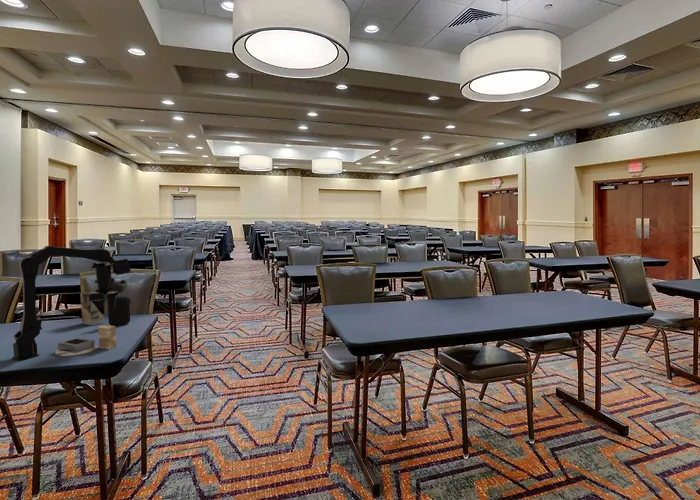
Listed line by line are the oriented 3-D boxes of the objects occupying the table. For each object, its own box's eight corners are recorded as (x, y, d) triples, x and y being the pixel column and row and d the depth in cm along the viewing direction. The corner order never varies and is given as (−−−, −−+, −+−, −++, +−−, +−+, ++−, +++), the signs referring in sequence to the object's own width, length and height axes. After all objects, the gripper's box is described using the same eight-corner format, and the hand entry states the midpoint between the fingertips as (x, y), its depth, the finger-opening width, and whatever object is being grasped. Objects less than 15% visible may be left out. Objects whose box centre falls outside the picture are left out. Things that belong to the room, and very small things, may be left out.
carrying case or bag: (132, 322, 213) (130, 295, 212) (133, 323, 210) (131, 295, 209) (108, 326, 206) (106, 297, 205) (109, 327, 204) (107, 298, 203)
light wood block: (109, 349, 170) (107, 328, 170) (99, 347, 173) (98, 326, 172) (116, 346, 174) (115, 326, 173) (106, 345, 176) (105, 324, 175)
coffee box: (104, 322, 213) (102, 292, 212) (91, 325, 207) (89, 294, 206) (93, 320, 217) (92, 291, 216) (81, 323, 212) (79, 293, 210)
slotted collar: (70, 358, 160) (69, 349, 159) (47, 353, 165) (46, 344, 165) (104, 347, 173) (104, 338, 172) (82, 343, 178) (81, 335, 178)
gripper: (113, 279, 171) (118, 315, 173) (131, 272, 189) (135, 304, 191) (85, 281, 169) (90, 317, 171) (106, 273, 188) (110, 306, 190)
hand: (108, 311), depth 181 cm, fingers open, 9 cm apart
